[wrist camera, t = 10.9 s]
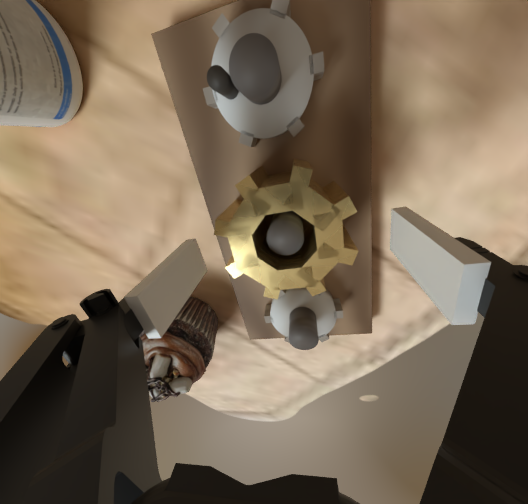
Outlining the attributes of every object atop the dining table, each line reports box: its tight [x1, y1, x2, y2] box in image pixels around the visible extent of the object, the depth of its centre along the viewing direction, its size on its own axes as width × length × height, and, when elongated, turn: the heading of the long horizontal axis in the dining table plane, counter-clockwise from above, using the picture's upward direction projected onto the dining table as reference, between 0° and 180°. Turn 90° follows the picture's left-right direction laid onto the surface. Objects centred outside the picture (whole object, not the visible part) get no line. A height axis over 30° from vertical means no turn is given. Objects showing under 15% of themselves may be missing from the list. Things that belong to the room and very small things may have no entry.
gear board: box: [151, 0, 372, 350], centre depth 20 cm, size 15×31×7 cm, turn 12°
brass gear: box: [214, 159, 358, 300], centre depth 18 cm, size 10×10×6 cm
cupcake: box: [139, 297, 218, 402], centre depth 27 cm, size 10×10×10 cm
